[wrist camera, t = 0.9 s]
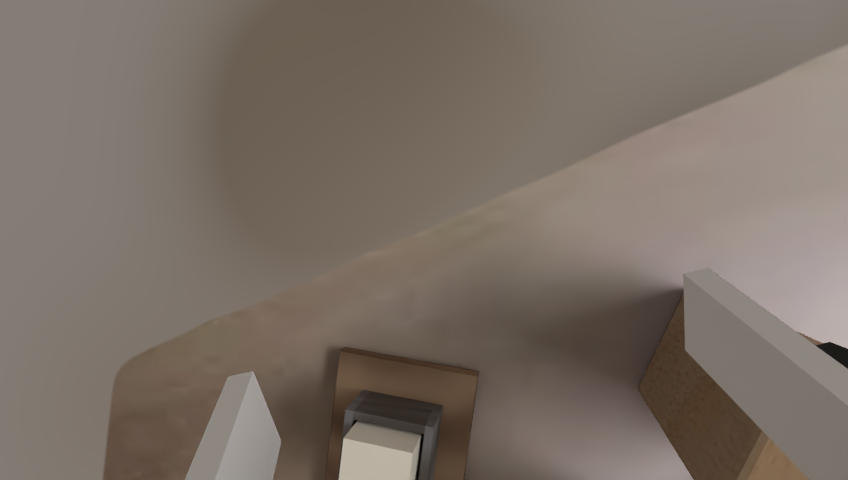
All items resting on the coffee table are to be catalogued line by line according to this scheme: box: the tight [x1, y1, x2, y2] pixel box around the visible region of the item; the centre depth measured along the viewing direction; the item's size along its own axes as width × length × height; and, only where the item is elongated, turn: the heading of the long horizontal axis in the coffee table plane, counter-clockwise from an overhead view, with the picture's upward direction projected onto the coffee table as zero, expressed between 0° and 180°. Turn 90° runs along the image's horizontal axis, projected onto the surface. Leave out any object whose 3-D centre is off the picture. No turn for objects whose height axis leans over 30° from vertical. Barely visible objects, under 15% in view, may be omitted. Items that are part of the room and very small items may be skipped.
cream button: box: [339, 420, 424, 480], centre depth 44 cm, size 6×6×5 cm
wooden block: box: [639, 294, 823, 480], centre depth 35 cm, size 10×10×20 cm
